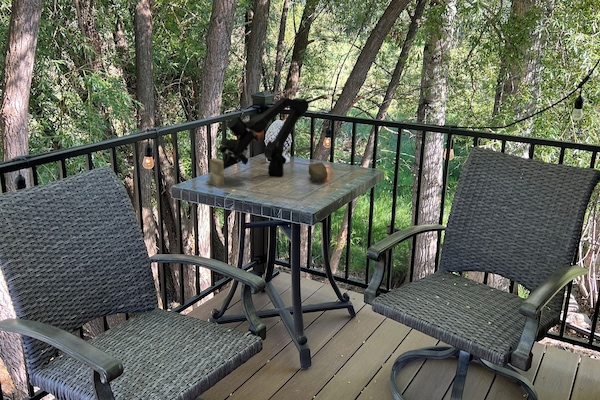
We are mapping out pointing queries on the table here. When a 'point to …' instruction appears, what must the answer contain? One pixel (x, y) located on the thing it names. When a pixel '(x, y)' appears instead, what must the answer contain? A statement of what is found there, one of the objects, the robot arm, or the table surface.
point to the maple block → (217, 172)
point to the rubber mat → (228, 183)
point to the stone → (318, 171)
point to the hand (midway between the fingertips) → (221, 169)
